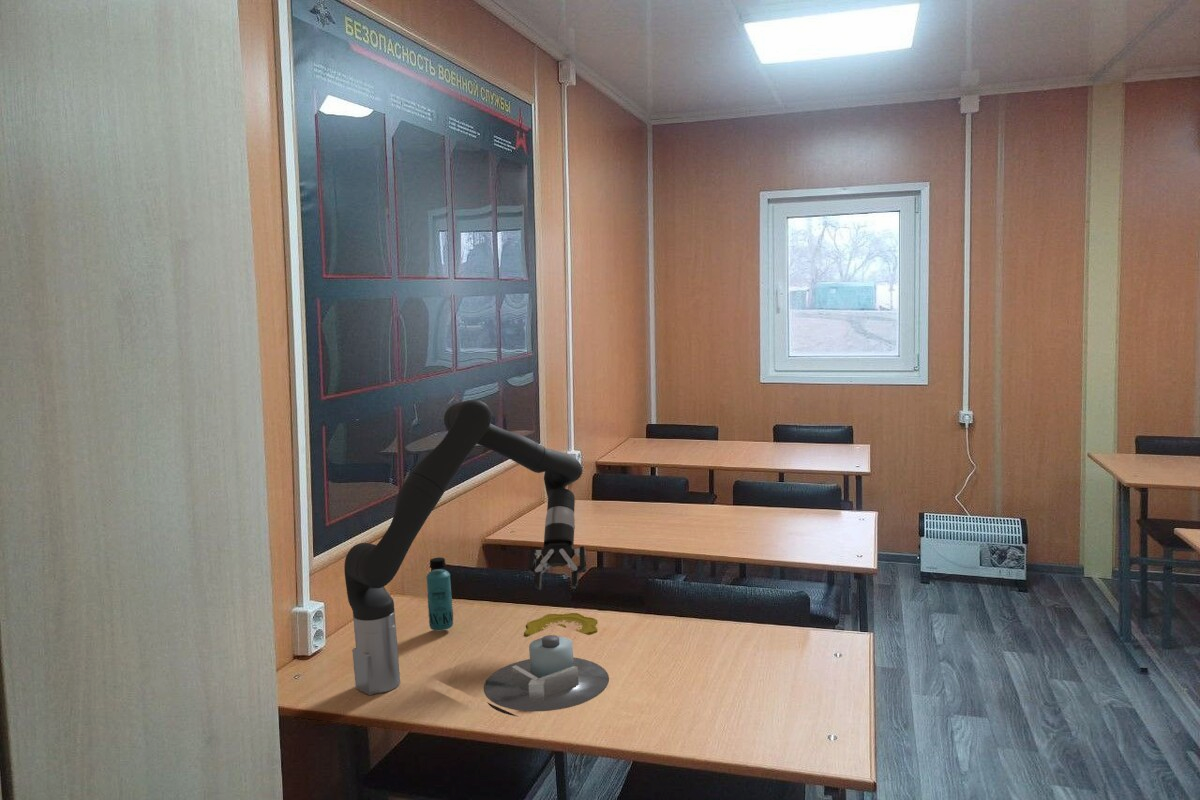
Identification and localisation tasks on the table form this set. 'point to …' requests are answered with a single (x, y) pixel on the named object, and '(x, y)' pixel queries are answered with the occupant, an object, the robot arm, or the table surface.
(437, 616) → the beverage bottle
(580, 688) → the turntable
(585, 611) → the table surface
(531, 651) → the cover
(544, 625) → the decorative medallion
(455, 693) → the table surface
